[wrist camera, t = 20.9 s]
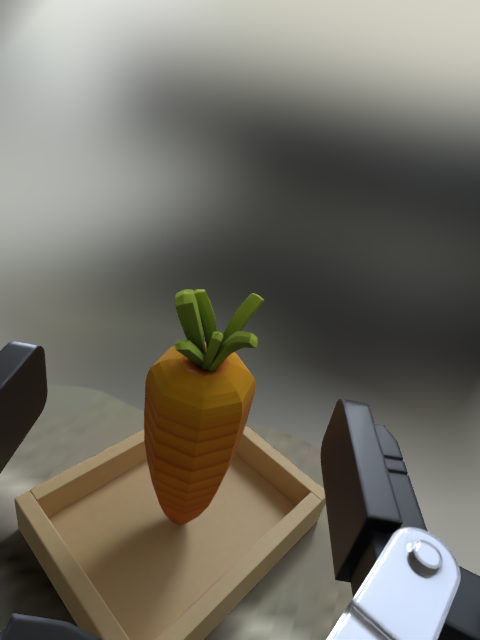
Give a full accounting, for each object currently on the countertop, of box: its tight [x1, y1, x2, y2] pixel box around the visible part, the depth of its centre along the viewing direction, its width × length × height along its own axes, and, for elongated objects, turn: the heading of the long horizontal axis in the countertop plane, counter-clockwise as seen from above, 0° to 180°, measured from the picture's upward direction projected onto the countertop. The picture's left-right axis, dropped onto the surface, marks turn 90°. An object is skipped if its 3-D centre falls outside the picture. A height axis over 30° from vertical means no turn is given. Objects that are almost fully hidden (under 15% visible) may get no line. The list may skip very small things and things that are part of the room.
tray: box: [15, 425, 326, 640], centre depth 24 cm, size 14×11×3 cm
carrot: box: [144, 289, 264, 525], centre depth 21 cm, size 5×5×15 cm
